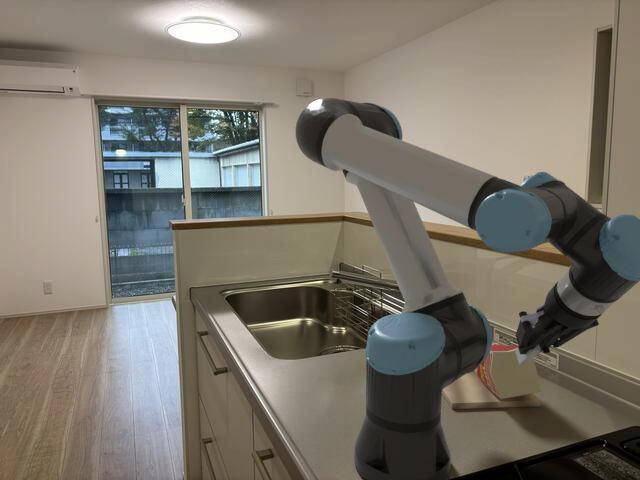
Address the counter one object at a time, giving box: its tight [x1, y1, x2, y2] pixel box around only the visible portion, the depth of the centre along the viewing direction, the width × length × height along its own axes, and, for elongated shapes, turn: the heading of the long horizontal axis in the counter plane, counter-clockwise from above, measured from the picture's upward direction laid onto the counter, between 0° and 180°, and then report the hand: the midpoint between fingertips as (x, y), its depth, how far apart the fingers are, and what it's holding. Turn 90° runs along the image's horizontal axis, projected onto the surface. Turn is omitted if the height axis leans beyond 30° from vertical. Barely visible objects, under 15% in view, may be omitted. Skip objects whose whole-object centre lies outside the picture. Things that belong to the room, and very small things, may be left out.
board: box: [442, 371, 542, 410], centre depth 102 cm, size 18×16×1 cm
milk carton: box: [474, 342, 542, 399], centre depth 102 cm, size 9×9×20 cm
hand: (521, 357), depth 90 cm, fingers closed
